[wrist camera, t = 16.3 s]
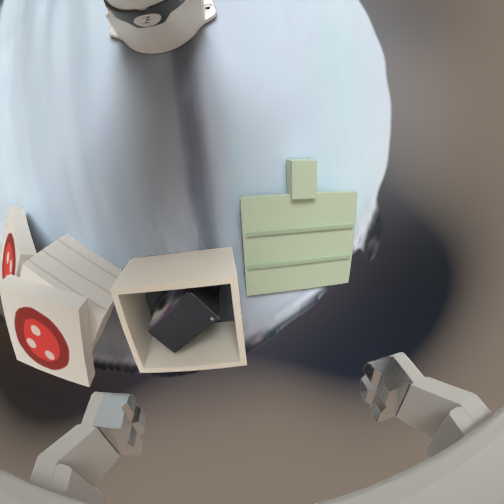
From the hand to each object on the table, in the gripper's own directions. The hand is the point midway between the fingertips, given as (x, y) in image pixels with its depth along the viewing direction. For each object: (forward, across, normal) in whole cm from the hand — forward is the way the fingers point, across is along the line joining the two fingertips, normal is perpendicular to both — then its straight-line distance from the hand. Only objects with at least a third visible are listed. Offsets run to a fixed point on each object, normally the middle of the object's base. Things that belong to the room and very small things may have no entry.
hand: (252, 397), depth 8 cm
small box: (+39, +8, +16) cm, 43 cm away
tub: (+39, +8, +16) cm, 43 cm away
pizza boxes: (+39, +33, +9) cm, 52 cm away
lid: (+40, -13, +6) cm, 42 cm away
